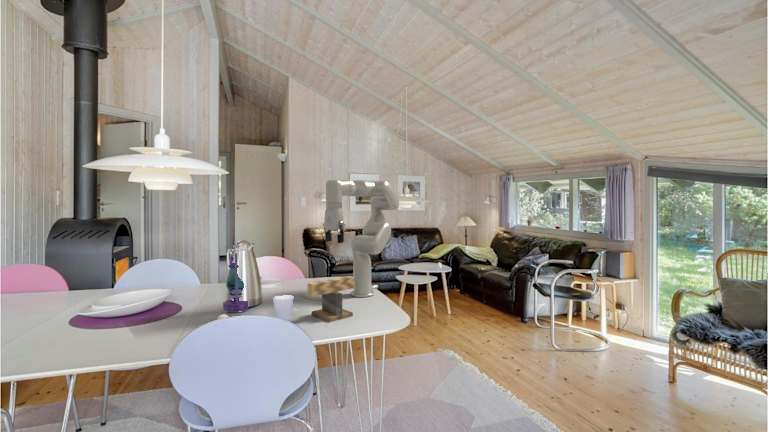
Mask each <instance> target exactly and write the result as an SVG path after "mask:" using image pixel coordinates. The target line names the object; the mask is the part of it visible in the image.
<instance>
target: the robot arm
mask: <svg viewBox="0 0 768 432" xmlns="http://www.w3.org/2000/svg"><path fill="white" fill-rule="evenodd" d="M325 182H326V183H325V202H326V203H325V211H324V221H323V222H324V223H323V224H322V226H323V230H324V233H325V242H332V239H333V238H332V236H333V235H332V234H333V233H332V231H337V236H336V237H337V243H338V244H343V243H344V242H345V240H344V239H345V237H344V236H345V232H346V229H347V224H345V222H344V221H345V220H344V212H343V196H344V197H358V198H359V197H361V198H362V197H372V198H371V200H370V212H371V215H370V217H369V219H368V220H367V222H366V223H365V225H364V226H363V229H362V231H361V232H362V233H361V234H358V235H355V236H354V237H352V239H351V242H350V247H351V253H352V264H353V265H352V267H353V268H352V269H353V271H352V275H353V276H352V277H354V288H353V290H352V291H350V296H352V297H356V298H368V297H373V296H374V295H375V291H374V290H376V289H378V288H379V285H377V284H375V285H374V284H372V260H371V257H370V255H379V254H380V253H382V251H383V250H384V248H385V247H386V245H387V243H388V242H389V239H390V238H391V236H392V227H391V224H390V223H389V222H386V217H385V215H384V213H383V211H395V210H397V209H398V208H399V206H400V200H399V197H398V195H397V194H396V192H395V190H394V188H393V186H392V184H390V183H389V182H388V181H386V180H362V179H361V180H348V179H345V180H339V179H331V180H330V179H329V180H326V181H325Z"/></svg>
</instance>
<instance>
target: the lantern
mask: <svg viewBox="0 0 768 432" xmlns="http://www.w3.org/2000/svg"><path fill="white" fill-rule="evenodd" d="M236 245H237V244H235V245H232V246H230V247H229V248H228V249H229V250H230V252H231V251H232V250H231V249H235V247H236V248H237V246H238V245H237V246H236ZM232 247H233V248H232ZM230 248H231V249H230ZM233 259H234V258H233V257H232V255H231V254H230V257H229V264H230V265H229V264H228V268H229V271H228V273H227V279H226V284H225V286H226V288H227V290H228V292H229V296H228V297H229V298H230V299H234V301H232V300H229V299H227V300H225V301H223V304H222V308H223V311H224V310H225V311H224V312H226V311H227V312H226V313H228V312H239V311H243V312H245V311H244V310H246V311H248V310H249V309H248V301H239V298H243V297H242V293H241V292H242V290H243V288H244V283H243V281H241V279H240V278H239V277H238V274H237V268H238V267H239V266H238V265H237V253H235V263H232V261H233ZM244 289H245V288H244ZM243 291H244V290H243ZM247 309H248V310H247ZM239 313H240V312H239Z"/></svg>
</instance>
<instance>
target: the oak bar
mask: <svg viewBox="0 0 768 432" xmlns="http://www.w3.org/2000/svg"><path fill="white" fill-rule="evenodd" d="M353 288H354V277H353V276H351V275H348V276H342V277H337V278H331V279H325V280H319V281H315V282H308V283H307V296H309V297H312V298H314V297H317V296H322V295H323V294H328V293H333V292H342V291H348V290H352V289H353ZM353 290H354V289H353Z"/></svg>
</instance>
